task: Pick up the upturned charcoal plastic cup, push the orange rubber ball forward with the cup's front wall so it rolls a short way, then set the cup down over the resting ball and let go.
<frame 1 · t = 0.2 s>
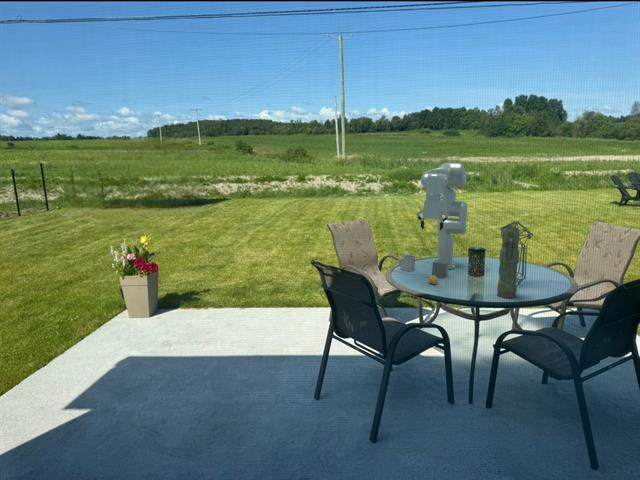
hand: (431, 229, 244), 31 cm above the table, tool pointing down, fingers open, 9 cm apart
tall grey column: (506, 296, 227), on the table
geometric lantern: (511, 284, 250), on the table
trap cup: (439, 276, 266), on the table
ball: (433, 279, 248), on the table
cup: (406, 270, 281), on the table
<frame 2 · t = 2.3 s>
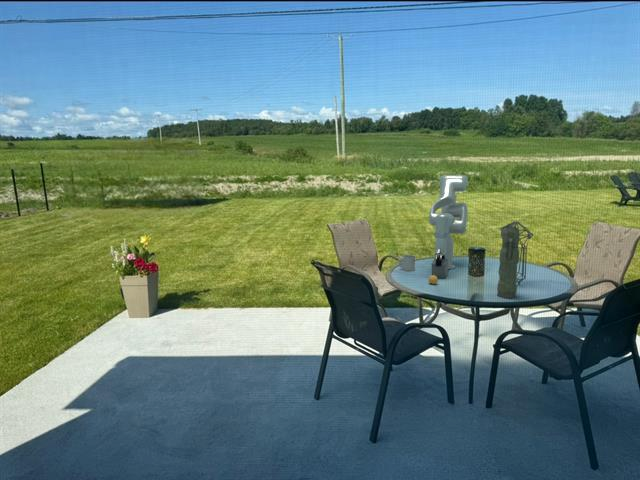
hand: (440, 264, 263), 7 cm above the table, tool pointing down, fingers open, 9 cm apart
trap cup: (439, 274, 266), point 1 cm above the table, tilted 14°
everything else where it was.
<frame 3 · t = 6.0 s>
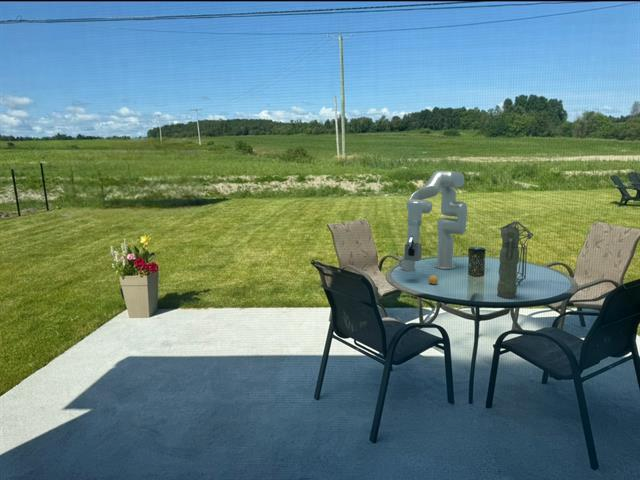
hand: (413, 254, 253), 15 cm above the table, tool pointing down, fingers closed on trap cup, 7 cm apart
trap cup: (412, 259, 253), point 13 cm above the table, touching gripper
everything else where it was.
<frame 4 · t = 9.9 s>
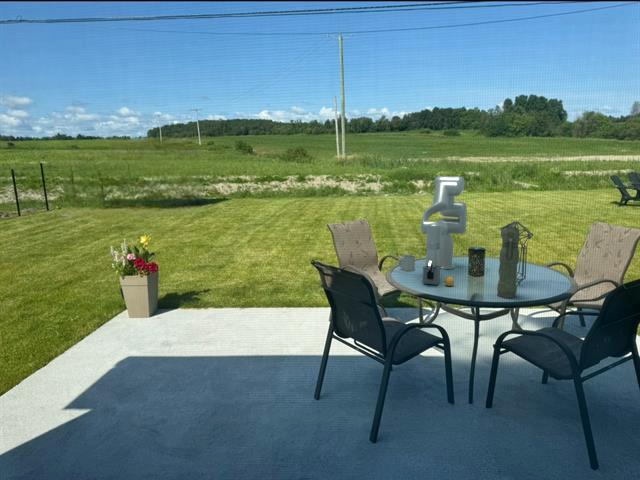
hand: (431, 277, 249), 4 cm above the table, tool pointing down, fingers closed on trap cup, 7 cm apart
trap cup: (431, 282, 249), point 1 cm above the table, touching gripper
ball: (449, 281, 245), on the table
everything else where it was.
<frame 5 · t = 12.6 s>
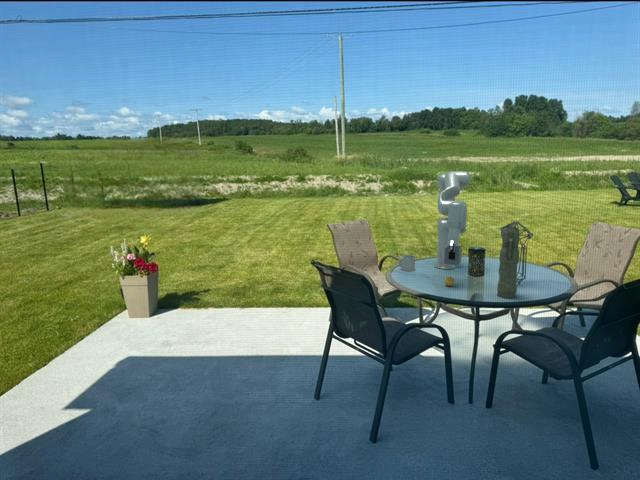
hand: (453, 257, 242), 16 cm above the table, tool pointing down, fingers closed on trap cup, 7 cm apart
trap cup: (452, 262, 243), point 13 cm above the table, touching gripper
everything else where it was.
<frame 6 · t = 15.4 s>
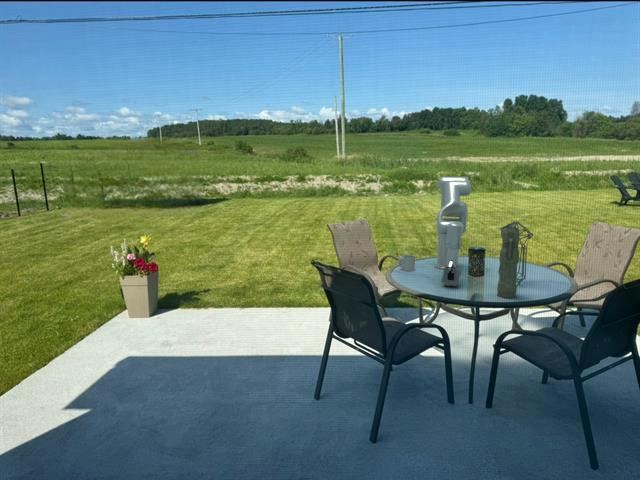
hand: (451, 278, 244), 5 cm above the table, tool pointing down, fingers closed on trap cup, 7 cm apart
trap cup: (449, 282, 244), point 2 cm above the table, tilted 10°, touching ball, gripper
ball: (448, 281, 245), on the table, touching trap cup
everything else where it was.
when the fingers open (3 cm above the table, at t = 16.4 s): trap cup stays where it is, on the table.
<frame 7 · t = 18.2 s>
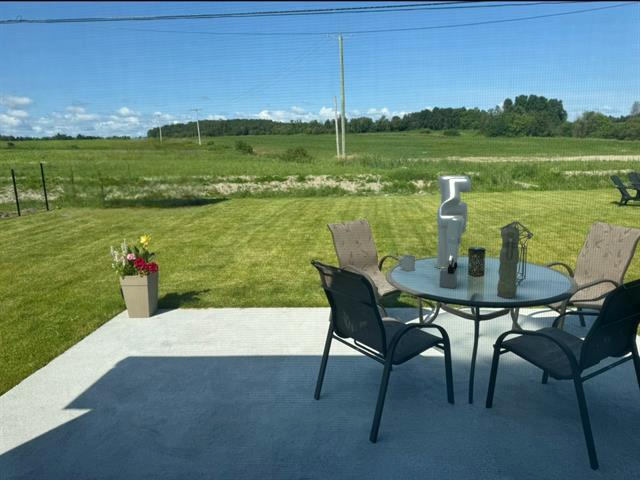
hand: (452, 271, 244), 8 cm above the table, tool pointing down, fingers open, 9 cm apart
trap cup: (448, 285, 245), on the table, touching gripper
ball: (448, 281, 245), on the table
everything else where it was.
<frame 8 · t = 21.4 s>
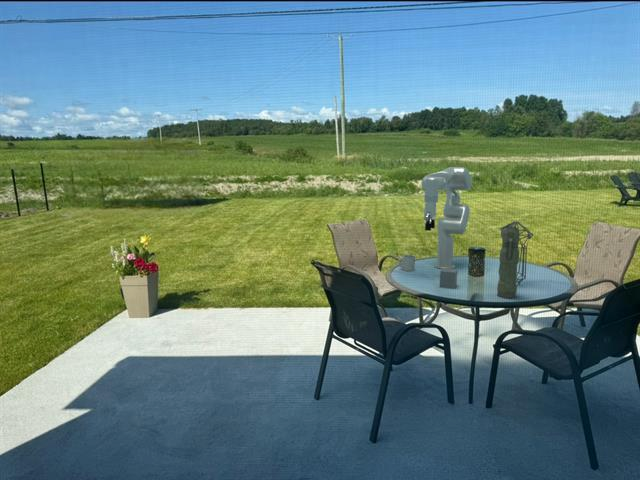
hand: (429, 229, 259), 28 cm above the table, tool pointing down, fingers open, 9 cm apart
trap cup: (448, 286, 245), on the table
everything else where it was.
at the end: ball 0.5 cm from the trap cup (horizontally); trap cup on the table; ball moved 8.0 cm from its start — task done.
